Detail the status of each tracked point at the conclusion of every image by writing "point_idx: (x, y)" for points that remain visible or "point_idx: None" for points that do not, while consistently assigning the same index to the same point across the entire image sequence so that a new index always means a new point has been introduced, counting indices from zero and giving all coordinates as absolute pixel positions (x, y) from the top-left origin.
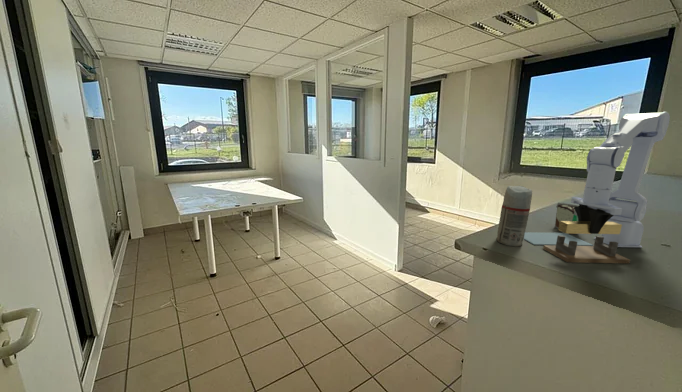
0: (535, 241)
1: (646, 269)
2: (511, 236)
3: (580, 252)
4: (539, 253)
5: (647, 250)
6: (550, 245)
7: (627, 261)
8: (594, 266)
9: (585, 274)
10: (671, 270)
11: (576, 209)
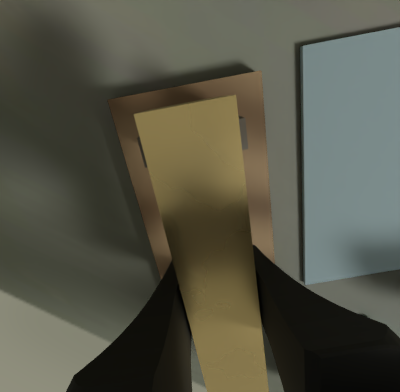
0: (338, 74)
1: (136, 310)
2: None
3: None
4: (188, 16)
5: (281, 382)
6: (262, 106)
7: None
8: (106, 184)
9: (5, 106)
10: None
11: (344, 329)
